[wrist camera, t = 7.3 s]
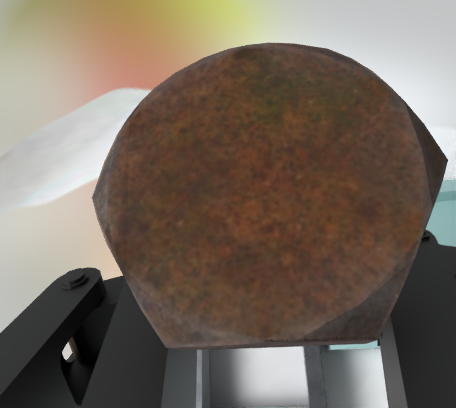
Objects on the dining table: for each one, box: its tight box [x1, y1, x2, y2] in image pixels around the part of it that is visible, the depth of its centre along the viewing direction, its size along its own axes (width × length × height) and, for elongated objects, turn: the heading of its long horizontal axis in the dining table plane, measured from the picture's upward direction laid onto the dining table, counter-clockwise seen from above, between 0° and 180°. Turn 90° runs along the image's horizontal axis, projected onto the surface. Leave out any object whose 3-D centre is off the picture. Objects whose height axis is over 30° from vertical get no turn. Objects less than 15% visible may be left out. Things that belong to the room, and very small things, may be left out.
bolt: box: [92, 43, 448, 350], centre depth 13 cm, size 6×5×15 cm
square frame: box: [196, 346, 327, 408], centre depth 31 cm, size 10×11×3 cm
